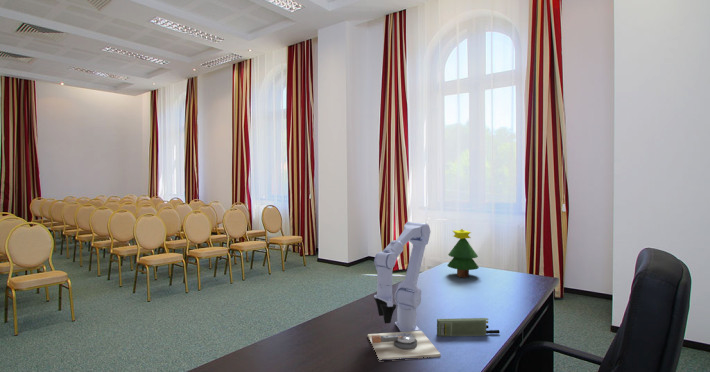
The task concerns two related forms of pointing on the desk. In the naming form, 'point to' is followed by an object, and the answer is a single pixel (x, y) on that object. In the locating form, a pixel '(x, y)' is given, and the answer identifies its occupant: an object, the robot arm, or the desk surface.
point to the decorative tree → (462, 255)
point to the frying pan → (395, 338)
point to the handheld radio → (463, 327)
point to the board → (399, 353)
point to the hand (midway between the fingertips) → (384, 319)
